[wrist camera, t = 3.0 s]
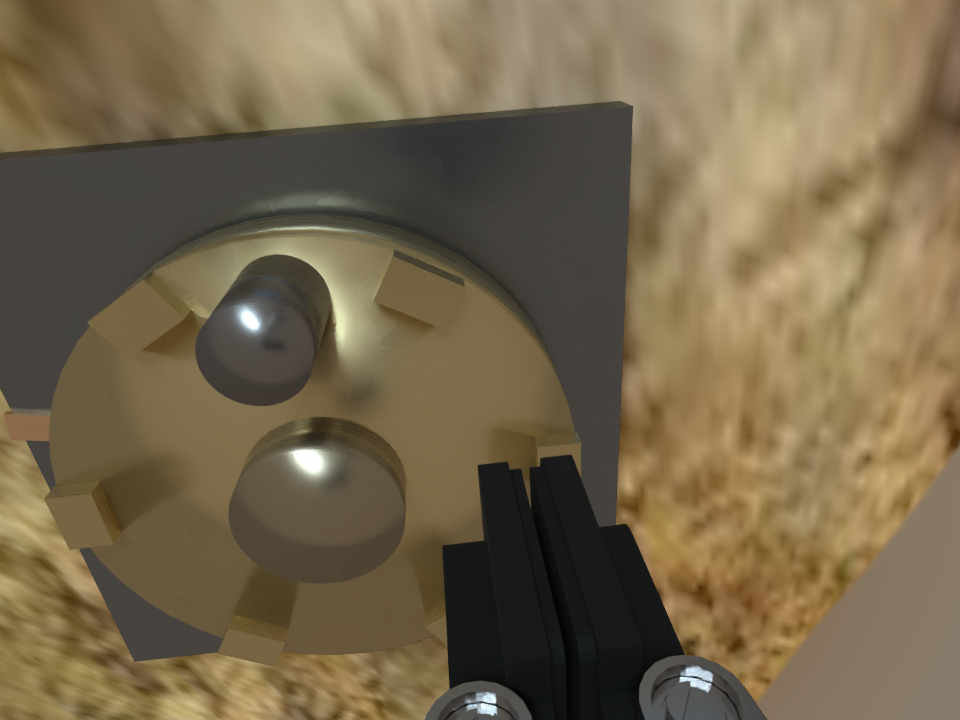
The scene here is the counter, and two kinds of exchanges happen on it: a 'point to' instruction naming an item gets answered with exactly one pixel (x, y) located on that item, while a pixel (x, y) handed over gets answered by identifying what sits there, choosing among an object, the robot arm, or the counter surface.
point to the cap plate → (335, 191)
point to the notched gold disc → (299, 431)
